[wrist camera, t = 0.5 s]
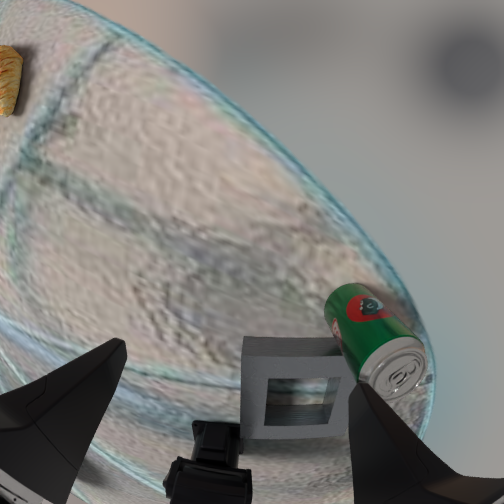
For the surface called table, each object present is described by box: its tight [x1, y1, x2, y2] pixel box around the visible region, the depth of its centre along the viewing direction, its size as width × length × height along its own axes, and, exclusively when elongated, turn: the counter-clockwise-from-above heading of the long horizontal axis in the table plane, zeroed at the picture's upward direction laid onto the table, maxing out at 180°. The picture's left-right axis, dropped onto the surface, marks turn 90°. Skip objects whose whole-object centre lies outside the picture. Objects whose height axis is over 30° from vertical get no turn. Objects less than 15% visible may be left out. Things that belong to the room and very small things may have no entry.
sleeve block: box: [240, 336, 356, 439], centre depth 25 cm, size 12×12×4 cm
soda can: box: [324, 283, 428, 403], centre depth 19 cm, size 5×5×12 cm
